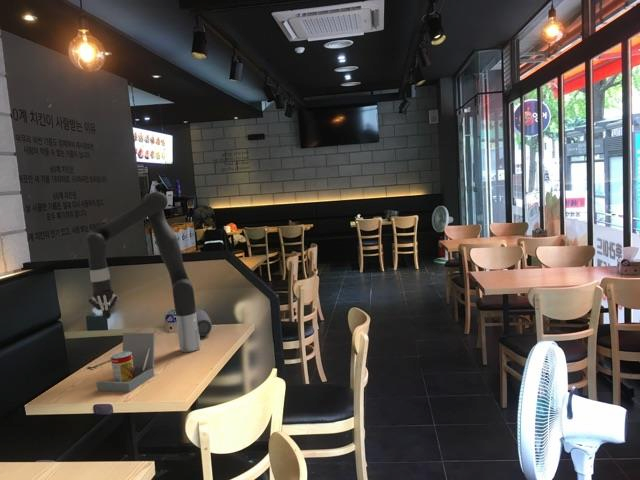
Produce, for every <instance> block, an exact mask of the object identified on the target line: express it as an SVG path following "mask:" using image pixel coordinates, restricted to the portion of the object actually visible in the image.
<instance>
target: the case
mask: <svg viewBox="0 0 640 480" xmlns="http://www.w3.org/2000/svg"><path fill="white" fill-rule="evenodd" d="M122 334H123V335H122V352H123V351H130V352H132V359H133V366H134V373H135V378H134V379H132V380H131V381H129V382H114V381H101V380H99V381H96V382H95V383H96V388H97V389H96V390H97V391H98V392H121V393H131V392H132V391H134V390H135V389H137V388H138V387H140V386H141V385H143V384H144V383H146V382H147V381H149V380H150V379H152V378H153V377H155V370H154V368H155V339H156V337H155V335H156V334H155V332H153V333H152V332H123V333H122Z"/></svg>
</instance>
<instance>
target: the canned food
mask: <svg viewBox="0 0 640 480" xmlns="http://www.w3.org/2000/svg"><path fill="white" fill-rule="evenodd" d="M110 359H111V361H110V362H111V367H112V375H113V379H114V380H113V382H129V381H131V380H132V379H134V378H136V376H135V373H134V366H133V359H132V352H130V351H123V350H122V351H117V352H115V353H113V354H112V355H110Z"/></svg>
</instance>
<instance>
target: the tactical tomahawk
mask: <svg viewBox="0 0 640 480" xmlns="http://www.w3.org/2000/svg"><path fill="white" fill-rule="evenodd" d="M107 362H108V363H109V362H112V361H111V358H110V359H108V360H105V361H103V362H100V363H98V364H96V365H93V366H87V367H86V369H87V370H90V371H94V369H98V367H99V366H102V365H105V364H108V363H107Z"/></svg>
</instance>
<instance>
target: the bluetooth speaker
mask: <svg viewBox="0 0 640 480" xmlns="http://www.w3.org/2000/svg"><path fill="white" fill-rule="evenodd" d="M196 317H197V325H198V327H199V335H200V336H206V335H208V334H210V333H211V331H212V327H213V326H212V321H211V318H210V316H209V314H208V313H206V311H205V310H203V309H196Z"/></svg>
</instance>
